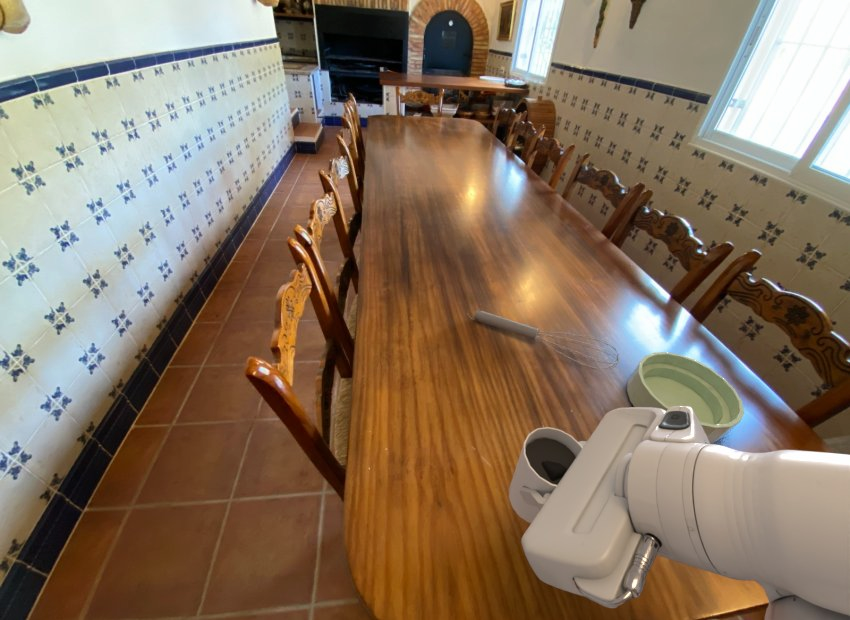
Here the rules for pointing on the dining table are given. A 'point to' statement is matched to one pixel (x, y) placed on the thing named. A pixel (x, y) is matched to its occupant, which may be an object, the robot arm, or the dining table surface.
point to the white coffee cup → (541, 466)
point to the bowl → (686, 391)
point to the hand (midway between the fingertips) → (539, 472)
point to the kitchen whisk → (532, 333)
